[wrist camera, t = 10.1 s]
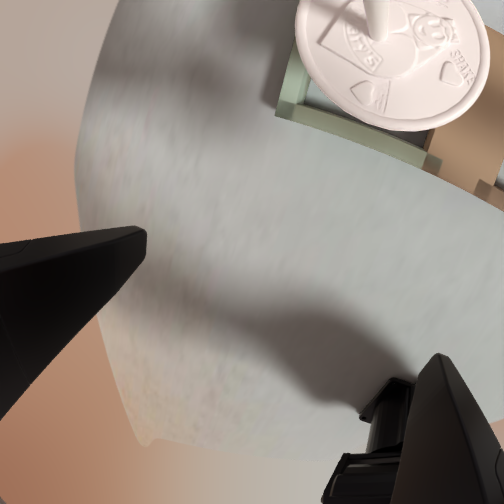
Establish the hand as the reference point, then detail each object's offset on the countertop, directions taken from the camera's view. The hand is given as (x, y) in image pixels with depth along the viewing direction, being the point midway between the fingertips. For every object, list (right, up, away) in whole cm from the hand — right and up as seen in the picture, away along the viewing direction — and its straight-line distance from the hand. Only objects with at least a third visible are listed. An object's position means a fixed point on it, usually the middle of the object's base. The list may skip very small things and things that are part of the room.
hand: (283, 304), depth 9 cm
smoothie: (+7, +12, +7) cm, 15 cm away
